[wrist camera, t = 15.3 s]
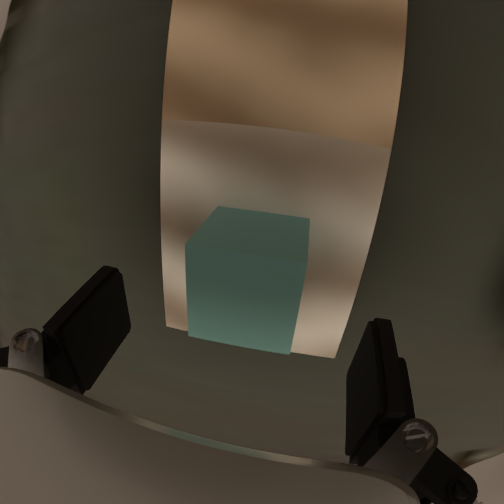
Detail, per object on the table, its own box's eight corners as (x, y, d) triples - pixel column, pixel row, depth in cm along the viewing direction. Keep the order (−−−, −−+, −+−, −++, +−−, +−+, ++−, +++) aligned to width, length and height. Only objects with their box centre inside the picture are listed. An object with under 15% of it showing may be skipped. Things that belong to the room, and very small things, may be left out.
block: (217, 206, 18) (184, 244, 13) (309, 218, 17) (307, 262, 13) (215, 283, 20) (188, 335, 15) (296, 296, 19) (289, 354, 15)
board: (195, -84, 10) (190, -91, 10) (402, -70, 9) (406, -77, 8) (171, 317, 23) (166, 325, 22) (334, 348, 22) (334, 358, 21)
